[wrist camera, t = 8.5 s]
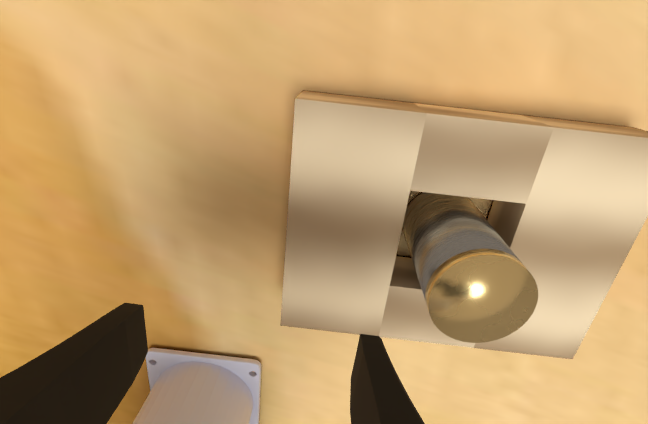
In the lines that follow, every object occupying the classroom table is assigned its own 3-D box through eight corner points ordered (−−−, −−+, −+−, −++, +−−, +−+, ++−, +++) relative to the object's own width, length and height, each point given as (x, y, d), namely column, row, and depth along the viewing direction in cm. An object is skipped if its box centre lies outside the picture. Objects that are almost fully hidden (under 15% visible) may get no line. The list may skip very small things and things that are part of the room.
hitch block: (544, 321, 22) (572, 359, 20) (288, 291, 23) (280, 325, 20) (633, 127, 17) (686, 142, 15) (303, 90, 18) (295, 98, 15)
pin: (466, 255, 21) (520, 347, 14) (397, 249, 21) (420, 338, 15) (484, 191, 19) (553, 262, 13) (408, 184, 19) (439, 252, 13)
